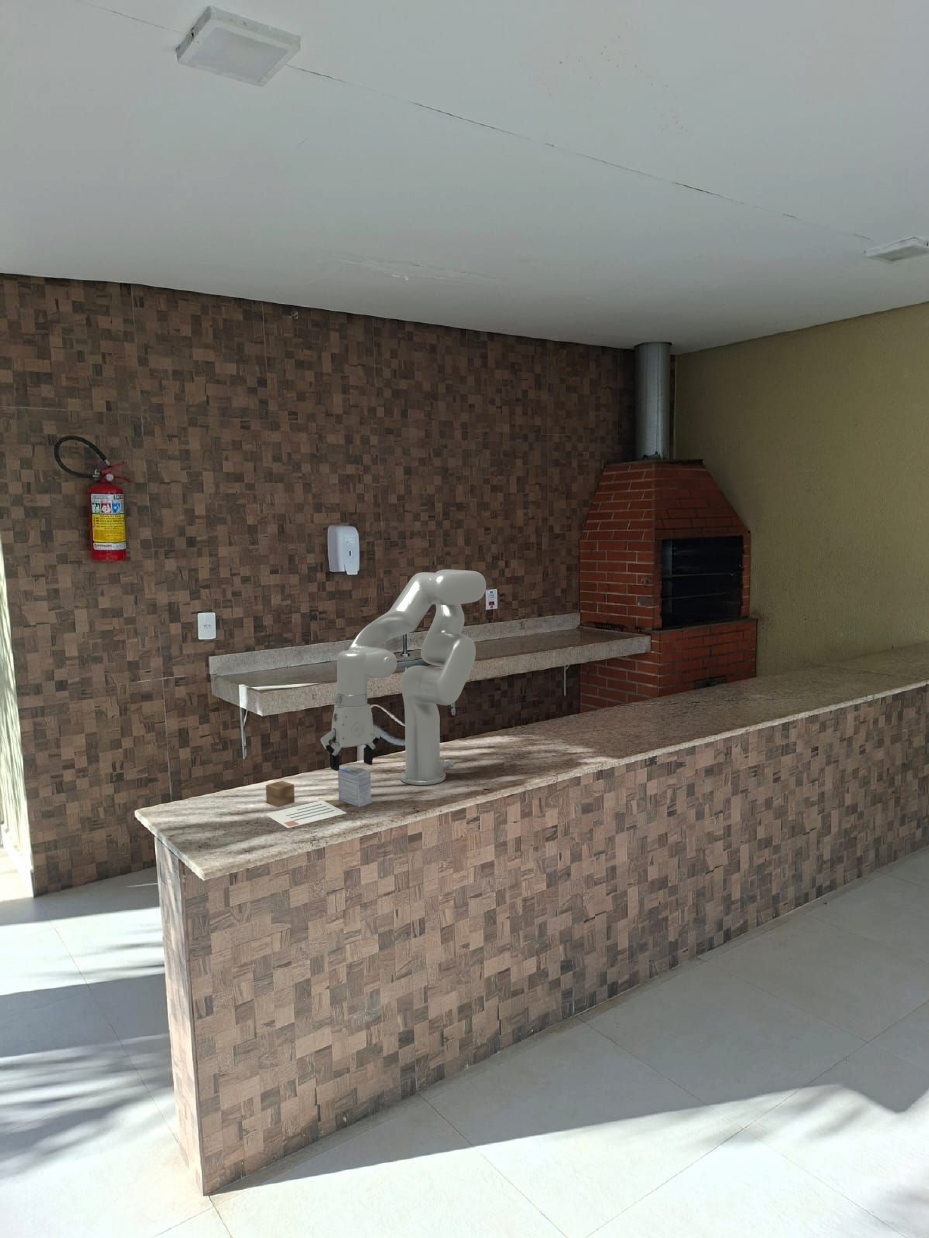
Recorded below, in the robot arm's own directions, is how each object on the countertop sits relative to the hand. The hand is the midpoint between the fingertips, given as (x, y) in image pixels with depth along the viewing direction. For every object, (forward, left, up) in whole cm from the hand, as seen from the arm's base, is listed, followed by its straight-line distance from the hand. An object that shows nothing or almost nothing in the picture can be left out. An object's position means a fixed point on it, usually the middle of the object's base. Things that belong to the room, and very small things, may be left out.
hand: (351, 766), depth 221 cm
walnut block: (+14, -12, -10) cm, 21 cm away
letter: (+13, 0, -10) cm, 16 cm away
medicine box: (-1, 0, -10) cm, 10 cm away
